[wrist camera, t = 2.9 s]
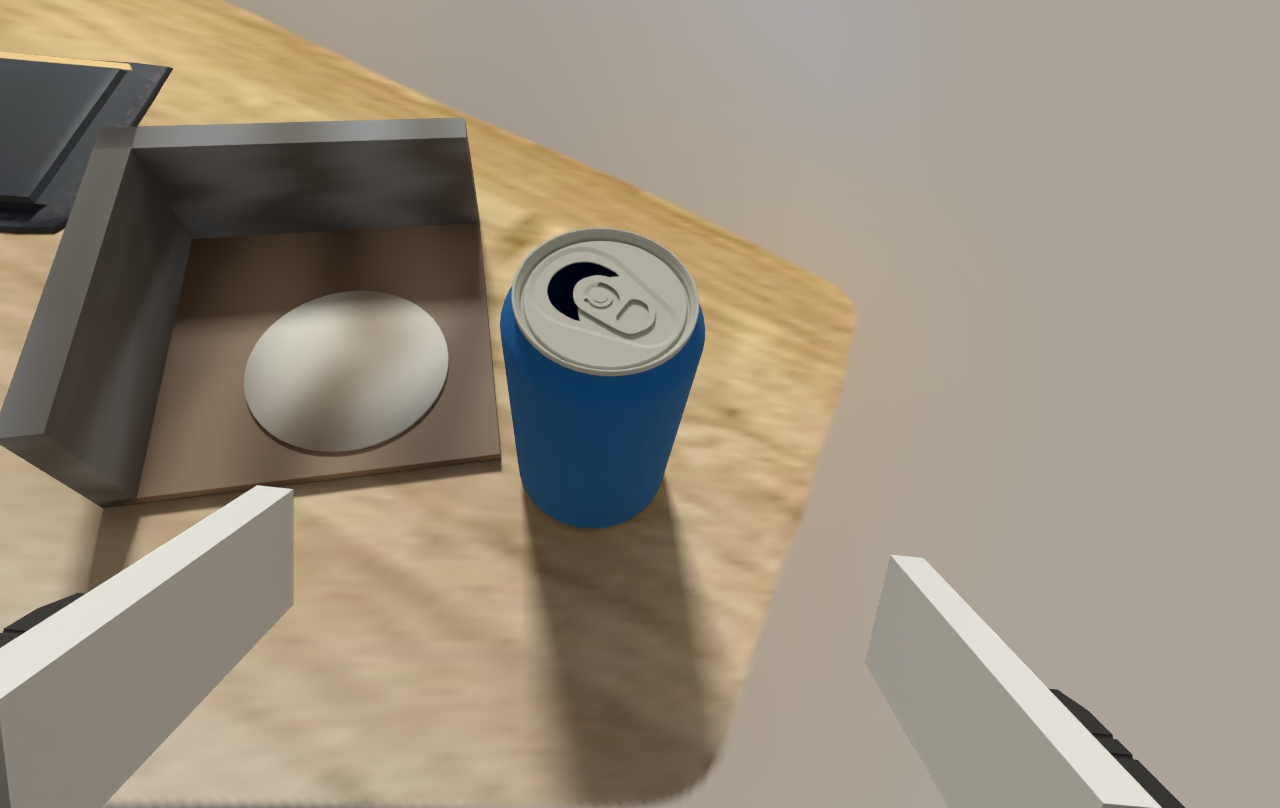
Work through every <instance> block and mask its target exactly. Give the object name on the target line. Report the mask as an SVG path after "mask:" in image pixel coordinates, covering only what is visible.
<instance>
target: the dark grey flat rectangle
mask: <svg viewBox="0 0 1280 808" xmlns="http://www.w3.org/2000/svg"><path fill="white" fill-rule="evenodd" d="M172 70H173V68H170V67H165V66H156V65H148V64H140V63H129V62H114V61H99V60H86V59H75V58H64V57H53V56H41V55H30V54H19V53H8V52H0V231H3V232H14V233H56V232H58V231H60V230H61V229H63V228H65V227H66V224H67V221H68V219H69V216H70V213H71V210H72V207H73V204H74V202H75V199H76V196H77V193H78V190H79V187H80V184H81V182H82V179H83V176H84V173H85V170H86V167H87V165H88V162H89V159H90V156H91V153H92V150H93V147H94V145H95V142H96V139H97V136H98V133H99V130H100V128H106V127H137V126H138V124H139V122H140V121H141V119H142V118H143V116H144V115H145V113H146V112H147V110H148V109H149V107H150V106H151V104H152V103H153V101H154V99H155V98H156V96H157V94H158V92H159V91H160V89H161V87H162V86H163V84H164V82H165V81H166V79H167V78H168V76H169V74H170V73H171V71H172Z"/></svg>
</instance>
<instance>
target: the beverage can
mask: <svg viewBox="0 0 1280 808" xmlns="http://www.w3.org/2000/svg"><path fill="white" fill-rule="evenodd" d="M500 330H501V339H502V347H503V354H504V361H505V369H506V376H507V383H508V391H509V398H510V405H511V413H512V420H513V427H514V435H515V442H516V450H517V457H518V464H519V472H520V476H521V480H522V483H523V485H524V488H525V490H526V492H527V493H528V495H529V497H530V498H531V499H532V501H533V502H534V503H535V504H536V505H537V506H538V507H539V508H540V509H541V510H542V511H543V512H544V513H546V514H547V515H548V516H550V517H551V518H553V519H555V520H557V521H559V522H561V523H564V524H566V525H569V526H573V527H577V528H586V529H599V528H607V527H611V526H615V525H618V524H620V523H623V522H625V521H627V520H629V519H631V518H633V517H634V516H636V515H637V514H638V513H640V512H641V511H642V510H643V509H644V508H645V507H646V506H647V505H648V504H649V503H650V502H651V500H652V499H653V498H654V496H655V495H656V493H657V491H658V489H659V487H660V484H661V481H662V478H663V475H664V472H665V469H666V465H667V462H668V459H669V456H670V453H671V450H672V446H673V443H674V440H675V437H676V434H677V431H678V427H679V424H680V421H681V418H682V415H683V412H684V408H685V405H686V402H687V399H688V396H689V392H690V389H691V386H692V383H693V380H694V377H695V373H696V370H697V367H698V364H699V361H700V358H701V354H702V351H703V346H704V342H705V325H704V317H703V314H702V310H701V307H700V304H699V297H698V292H697V288H696V285H695V282H694V280H693V278H692V276H691V274H690V273H689V271H688V270H687V268H686V267H685V265H684V264H683V263H682V262H681V261H680V260H679V259H678V258H677V257H676V256H675V255H674V254H673V253H672V252H671V251H669V250H668V249H666V248H665V247H664V246H662V245H660V244H659V243H657V242H655V241H653V240H651V239H649V238H647V237H645V236H642V235H639V234H636V233H633V232H629V231H625V230H620V229H612V228H586V229H579V230H574V231H570V232H566V233H563V234H561V235H558V236H555V237H553V238H551V239H549V240H547V241H545V242H544V243H542V244H541V245H539V246H538V247H537V248H535V249H534V250H533V251H532V252H531V253H530V254H529V255H528V256H527V257H526V258H525V259H524V261H523V262H522V264H521V265H520V267H519V268H518V270H517V273H516V275H515V277H514V281H513V285H512V287H511V288H510V290H509V292H508V294H507V296H506V299H505V301H504V304H503V308H502V312H501V320H500Z"/></svg>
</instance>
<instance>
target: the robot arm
mask: <svg viewBox="0 0 1280 808" xmlns="http://www.w3.org/2000/svg"><path fill="white" fill-rule="evenodd" d="M292 605H293V489H286V488H277V487H268V486H259V485H257V486H255V487H254V488H252V489H250V490H249V491H247V492H246V493H244V494H243V495H241V496H239V497H238V498H236V499H235V500H233V501H231V502H230V503H228V504H227V505H225V506H224V507H222V508H220V509H219V510H217V511H216V512H214V513H213V514H211V515H209V516H208V517H206V518H205V519H203V520H202V521H200V522H198V523H197V524H195V525H194V526H192V527H190V528H189V529H187V530H186V531H184V532H183V533H181V534H179V535H178V536H176V537H175V538H173V539H172V540H170V541H168V542H167V543H165V544H164V545H162V546H160V547H159V548H157V549H156V550H154V551H153V552H151V553H149V554H148V555H146V556H145V557H143V558H142V559H140V560H138V561H137V562H135V563H134V564H132V565H131V566H129V567H127V568H126V569H124V570H123V571H121V572H119V573H118V574H116V575H115V576H113V577H112V578H110V579H108V580H107V581H105V582H104V583H102V584H101V585H99V586H97V587H96V588H94V589H93V590H91V591H90V592H88V593H86V594H83V593H77V594H74V595H71V596H69V597H66V598H64V599H61V600H58V601H56V602H53V603H51V604H48V605H45V606H43V607H40V608H38V609H36V610H34V611H32V612H31V613H29V614H27V615H26V616H24V617H23V618H21V619H19V620H18V621H16V622H14V623H13V624H11V625H9V626H8V627H6V628H4V631H3V633H0V808H101V807H102V806H103V805H104V804H105V803H106V802H107V801H108V800H109V799H110V798H111V797H112V796H113V794H114V793H115V792H116V791H117V790H118V789H119V788H120V787H121V786H122V785H123V784H124V783H125V782H126V781H127V780H128V779H129V778H130V776H131V775H132V774H133V773H134V772H135V771H136V770H137V769H138V768H139V767H140V766H141V765H142V764H143V763H144V762H145V761H146V760H147V758H148V757H149V756H150V755H151V754H152V753H153V752H154V751H155V750H156V749H157V748H158V747H159V746H160V745H161V744H162V743H163V742H164V741H165V739H166V738H167V737H168V736H169V735H170V734H171V733H172V732H173V731H174V730H175V729H176V728H177V727H178V726H179V725H180V724H181V723H182V721H183V720H184V719H185V718H186V717H187V716H188V715H189V714H190V713H191V712H192V711H193V710H194V709H195V708H196V707H197V706H198V705H199V704H200V702H201V701H202V700H203V699H204V698H205V697H206V696H207V695H208V694H209V693H210V692H211V691H212V690H213V689H214V688H215V687H216V686H217V684H218V683H219V682H220V681H221V680H222V679H223V678H224V677H225V676H226V675H227V674H228V673H229V672H230V671H231V670H232V669H233V668H234V667H235V665H236V664H237V663H238V662H239V661H240V660H241V659H242V658H243V657H244V656H245V655H246V654H247V653H248V652H249V651H250V650H251V649H252V647H253V646H254V645H255V644H256V643H257V642H258V641H259V640H260V639H261V638H262V637H263V636H264V635H265V634H266V633H267V632H268V631H269V629H270V628H271V627H272V626H273V625H274V624H275V623H276V622H277V621H278V620H279V619H280V618H281V617H282V616H283V615H284V614H285V613H286V612H287V610H288V609H289V608H290V607H291V606H292ZM865 663H866V665H867V667H868V668H869V670H870V672H871V674H872V675H873V677H874V679H875V681H876V682H877V684H878V686H879V688H880V689H881V691H882V693H883V695H884V696H885V698H886V700H887V702H888V703H889V705H890V707H891V709H892V710H893V712H894V714H895V715H896V717H897V719H898V721H899V722H900V724H901V726H902V728H903V730H904V731H905V733H906V735H907V736H908V738H909V740H910V742H911V744H912V745H913V747H914V749H915V751H916V752H917V754H918V756H919V758H920V759H921V761H922V763H923V765H924V766H925V768H926V770H927V771H928V773H929V775H930V777H931V778H932V780H933V782H934V784H935V785H936V787H937V789H938V791H939V792H940V794H941V796H942V798H943V799H944V801H945V803H946V805H947V806H948V808H1185V807H1184V806H1183V805H1182V804H1181V803H1180V802H1179V801H1178V800H1177V799H1176V798H1175V797H1174V796H1173V795H1172V794H1171V793H1170V792H1169V791H1168V790H1167V789H1166V788H1165V787H1164V786H1163V785H1162V784H1161V783H1160V782H1159V781H1158V780H1157V779H1156V778H1155V777H1154V776H1153V775H1152V774H1151V773H1150V772H1149V771H1148V770H1147V769H1146V768H1145V767H1144V766H1143V765H1142V764H1141V763H1140V762H1139V761H1138V760H1134V759H1133V757H1132V754H1131V753H1130V752H1129V751H1128V750H1127V749H1126V748H1125V747H1124V746H1123V745H1122V744H1121V743H1120V742H1119V741H1118V740H1116V739H1113V737H1112V736H1113V735H1112V734H1111V733H1110V732H1109V731H1108V730H1107V729H1106V728H1105V727H1104V726H1103V725H1102V724H1101V723H1100V722H1099V721H1098V720H1097V719H1096V718H1095V717H1094V716H1093V715H1092V714H1091V713H1090V712H1089V711H1088V710H1086V709H1085V708H1084V707H1082V706H1081V705H1079V704H1078V703H1076V702H1075V701H1073V700H1072V699H1070V698H1069V697H1067V696H1066V695H1064V694H1063V693H1062V692H1060V691H1059V690H1055V689H1048V688H1047V687H1046V686H1045V685H1044V684H1043V683H1042V682H1041V681H1040V680H1039V679H1038V678H1037V677H1036V676H1035V674H1033V672H1032V671H1031V670H1030V669H1029V668H1028V667H1027V666H1026V665H1025V664H1024V663H1023V662H1022V661H1021V660H1020V659H1019V658H1018V657H1017V656H1016V655H1015V654H1014V653H1013V652H1012V650H1011V649H1010V648H1009V647H1008V646H1007V645H1006V644H1005V643H1004V642H1003V641H1002V640H1001V639H1000V638H999V637H998V636H997V635H996V634H995V633H994V632H993V631H992V629H991V628H990V627H989V626H988V625H987V624H986V623H985V622H984V621H983V620H982V619H981V618H980V617H979V616H978V615H977V614H976V613H975V612H974V611H973V610H972V609H971V607H970V606H969V605H968V604H967V603H966V602H965V601H964V600H963V599H962V598H961V597H960V596H959V595H958V594H957V593H956V592H955V591H954V590H953V589H952V588H951V587H950V586H949V584H948V583H947V582H946V581H945V580H943V578H942V577H941V576H940V575H939V574H938V573H937V572H936V571H935V570H934V569H933V568H932V567H931V566H930V565H929V564H928V562H927V561H925V559H924V558H916V557H907V556H897V555H890V558H889V562H888V567H887V571H886V575H885V579H884V583H883V588H882V592H881V596H880V600H879V605H878V609H877V613H876V617H875V622H874V626H873V630H872V634H871V639H870V643H869V647H868V651H867V656H866V661H865Z"/></svg>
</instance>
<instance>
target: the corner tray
mask: <svg viewBox="0 0 1280 808" xmlns="http://www.w3.org/2000/svg"><path fill="white" fill-rule="evenodd" d="M0 445H2V446H3V447H5V448H6V449H8V450H10V451H11V452H13V453H15V454H16V455H18V456H19V457H21V458H23V459H24V460H26V461H27V462H29V463H31V464H32V465H34V466H36V467H37V468H39V469H40V470H42V471H44V472H45V473H47V474H49V475H50V476H52V477H53V478H55V479H57V480H58V481H60V482H62V483H63V484H65V485H66V486H68V487H70V488H71V489H73V490H75V491H76V492H78V493H79V494H81V495H83V496H84V497H86V498H88V499H89V500H91V501H92V502H94V503H96V504H97V505H99V506H100V507H102V508H105V507H113V506H121V505H129V504H137V503H145V502H153V501H161V500H170V499H178V498H186V497H194V496H202V495H210V494H218V493H226V492H234V491H243V490H250V489H252V488H254V487H255V486H257V485H259V486H268V487H275V486H283V485H291V484H299V483H307V482H316V481H324V480H332V479H340V478H348V477H356V476H364V475H372V474H381V473H389V472H397V471H405V470H413V469H421V468H429V467H437V466H445V465H454V464H462V463H470V462H478V461H486V460H494V459H501V453H500V442H499V431H498V420H497V409H496V398H495V387H494V376H493V365H492V354H491V343H490V332H489V321H488V310H487V299H486V288H485V277H484V267H483V256H482V245H481V234H480V223H479V212H478V204H477V198H476V191H475V184H474V177H473V170H472V163H471V156H470V150H469V143H468V136H467V129H466V122H465V118H434V119H397V120H361V121H325V122H288V123H252V124H215V125H179V126H143V127H106V128H100V130H99V133H98V136H97V139H96V142H95V145H94V147H93V150H92V153H91V156H90V159H89V162H88V165H87V167H86V170H85V173H84V176H83V179H82V182H81V184H80V187H79V190H78V193H77V196H76V199H75V202H74V204H73V207H72V210H71V213H70V216H69V219H68V221H67V224H66V227H65V230H64V233H63V236H62V239H61V241H60V244H59V247H58V250H57V253H56V256H55V258H54V261H53V264H52V267H51V270H50V273H49V276H48V278H47V281H46V284H45V287H44V290H43V293H42V295H41V298H40V301H39V304H38V307H37V310H36V313H35V315H34V318H33V321H32V324H31V327H30V330H29V332H28V335H27V338H26V341H25V344H24V347H23V350H22V352H21V355H20V358H19V361H18V364H17V367H16V369H15V372H14V375H13V378H12V381H11V384H10V387H9V389H8V392H7V395H6V398H5V401H4V404H3V406H2V409H1V412H0Z"/></svg>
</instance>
